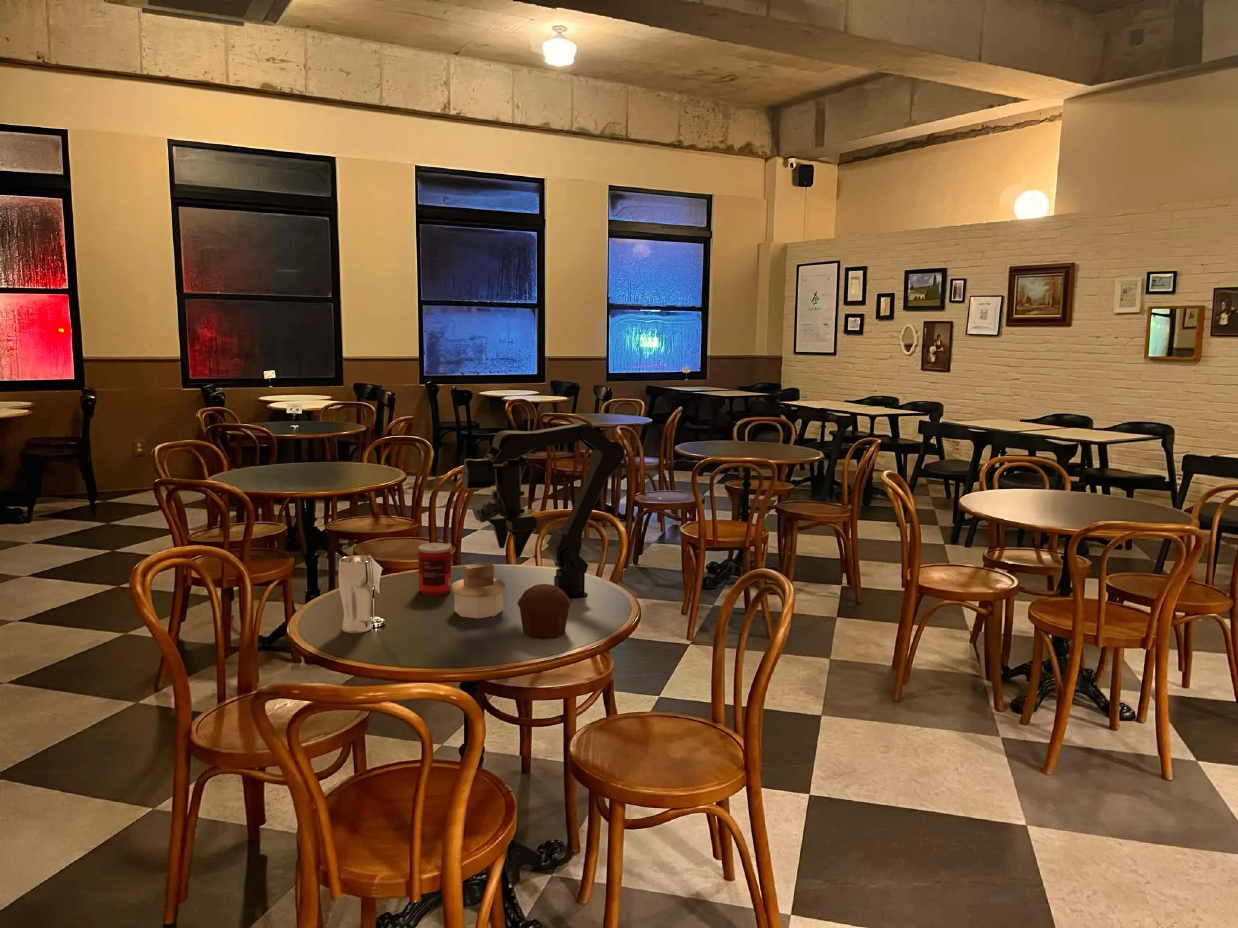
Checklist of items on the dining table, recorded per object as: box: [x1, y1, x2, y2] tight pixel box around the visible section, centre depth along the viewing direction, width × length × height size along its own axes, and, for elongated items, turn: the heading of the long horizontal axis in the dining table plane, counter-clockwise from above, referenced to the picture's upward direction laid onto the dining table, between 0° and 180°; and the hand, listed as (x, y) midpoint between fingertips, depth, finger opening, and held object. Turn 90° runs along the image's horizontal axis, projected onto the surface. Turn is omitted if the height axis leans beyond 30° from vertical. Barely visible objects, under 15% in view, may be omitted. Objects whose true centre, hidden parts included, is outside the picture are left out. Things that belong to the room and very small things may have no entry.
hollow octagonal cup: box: [453, 592, 504, 619], centre depth 198 cm, size 10×10×5 cm
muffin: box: [516, 583, 572, 640], centre depth 184 cm, size 12×11×10 cm
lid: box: [451, 561, 506, 597], centre depth 197 cm, size 12×12×6 cm
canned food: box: [417, 542, 452, 596], centre depth 212 cm, size 8×8×11 cm
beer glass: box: [338, 554, 374, 634], centre depth 184 cm, size 7×7×15 cm
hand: (509, 552), depth 204 cm, fingers open, 9 cm apart
